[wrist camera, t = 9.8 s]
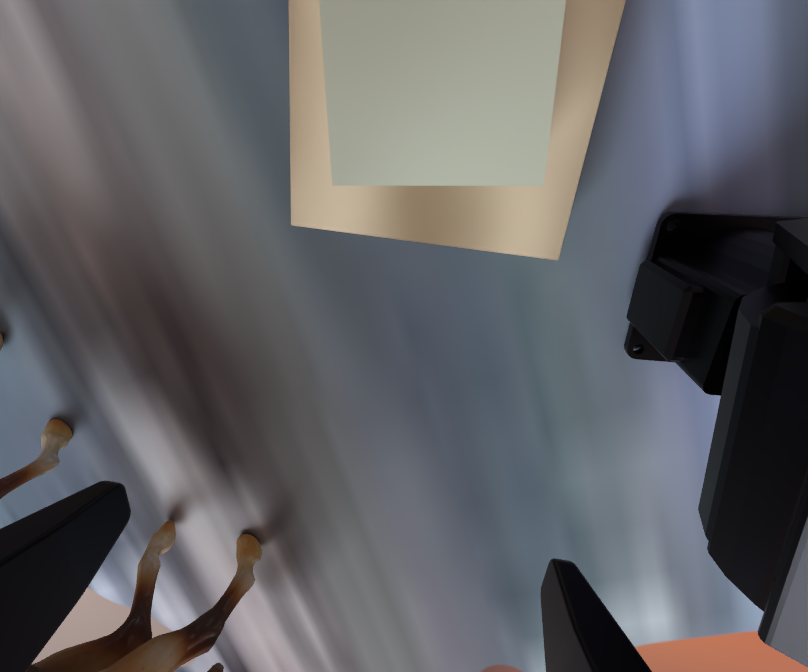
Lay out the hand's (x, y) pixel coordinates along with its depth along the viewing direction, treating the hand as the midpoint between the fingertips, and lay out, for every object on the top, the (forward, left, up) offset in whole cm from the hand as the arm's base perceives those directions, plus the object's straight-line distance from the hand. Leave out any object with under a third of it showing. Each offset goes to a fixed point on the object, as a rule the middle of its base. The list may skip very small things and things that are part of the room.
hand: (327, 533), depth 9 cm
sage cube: (-1, -9, -10) cm, 13 cm away
